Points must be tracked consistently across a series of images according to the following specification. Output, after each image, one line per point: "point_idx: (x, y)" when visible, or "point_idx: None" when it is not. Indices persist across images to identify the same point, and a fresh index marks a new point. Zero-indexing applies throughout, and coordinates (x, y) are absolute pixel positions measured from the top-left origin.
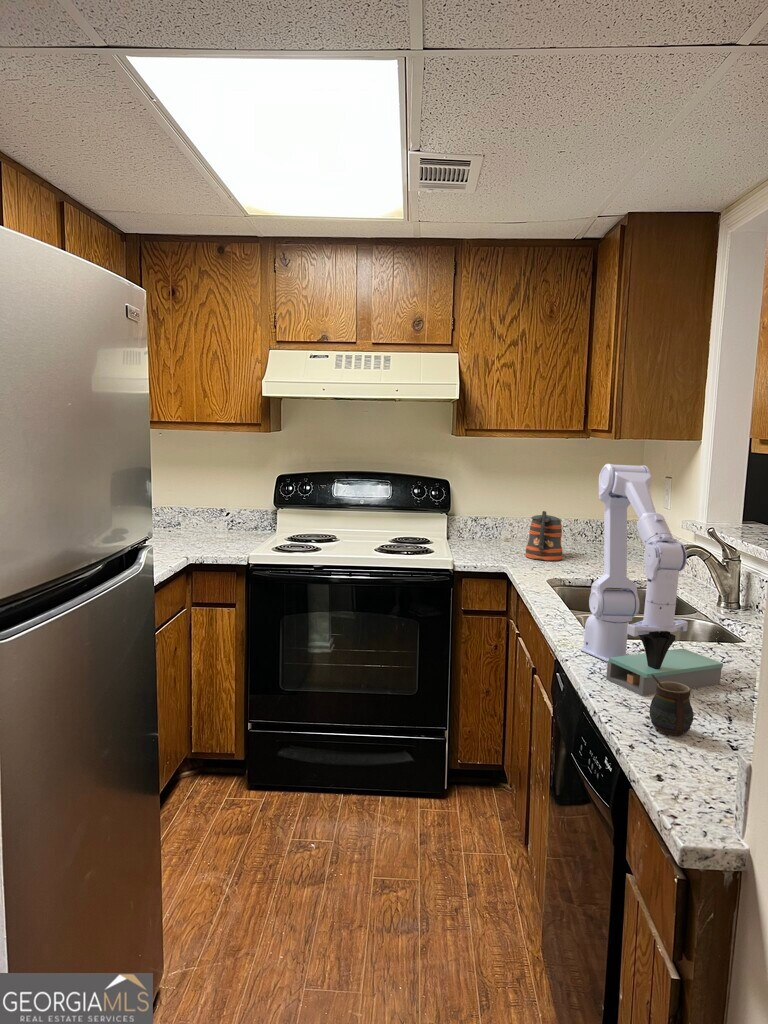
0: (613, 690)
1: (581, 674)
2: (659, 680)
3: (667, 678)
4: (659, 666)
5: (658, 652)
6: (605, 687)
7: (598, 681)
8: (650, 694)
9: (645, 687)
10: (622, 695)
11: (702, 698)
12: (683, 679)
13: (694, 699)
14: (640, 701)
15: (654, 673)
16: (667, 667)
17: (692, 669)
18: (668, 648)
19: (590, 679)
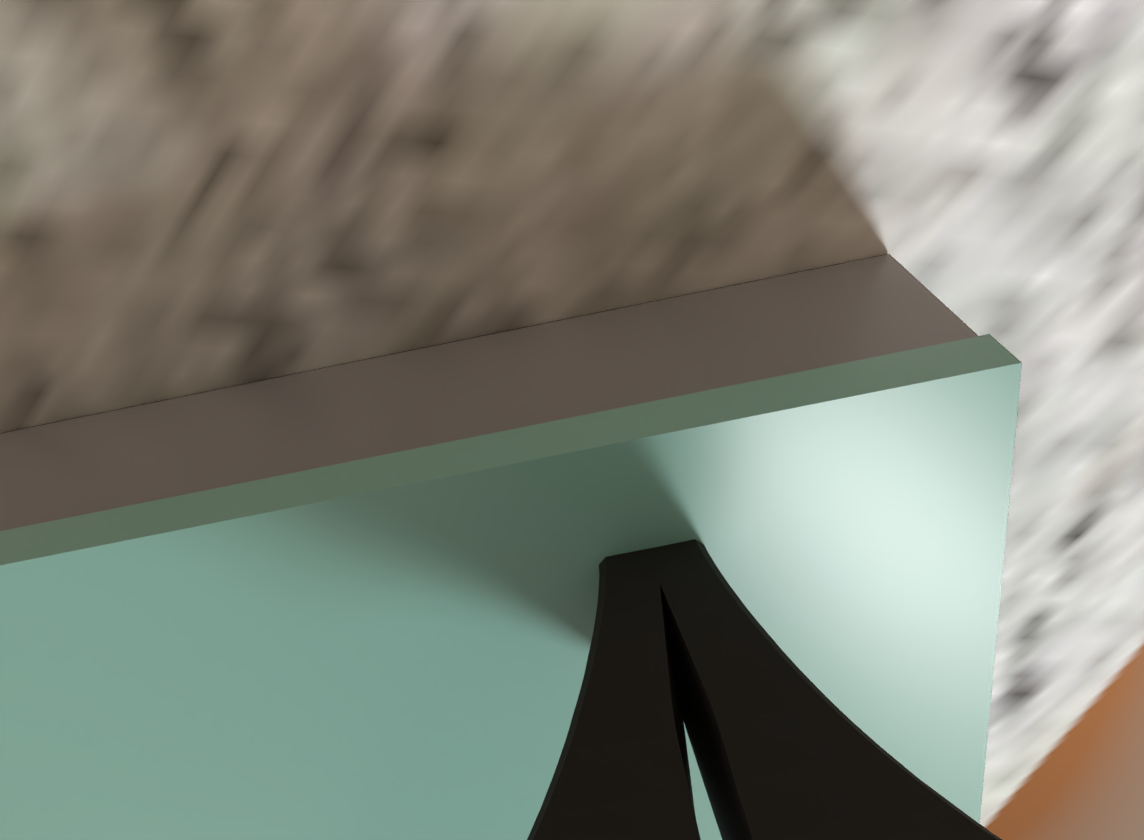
0: (1054, 436)
1: (1007, 760)
2: (662, 385)
3: (514, 420)
4: (638, 570)
5: (816, 731)
6: (1063, 509)
7: (998, 633)
8: (759, 283)
9: (890, 304)
10: (1084, 305)
11: (103, 97)
12: (209, 455)
13: (249, 77)
14: (1040, 107)
15: (850, 393)
16: (445, 593)
17: (14, 546)
18: (548, 836)
19: (1028, 672)
